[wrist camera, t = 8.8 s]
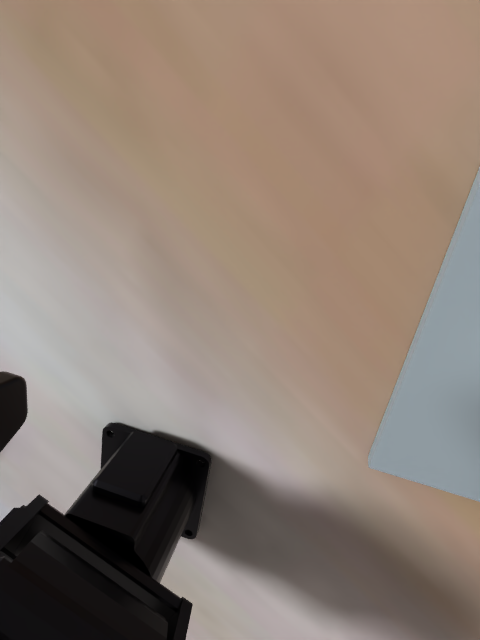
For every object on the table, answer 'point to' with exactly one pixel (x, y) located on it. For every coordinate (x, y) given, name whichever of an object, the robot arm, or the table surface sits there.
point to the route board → (441, 377)
